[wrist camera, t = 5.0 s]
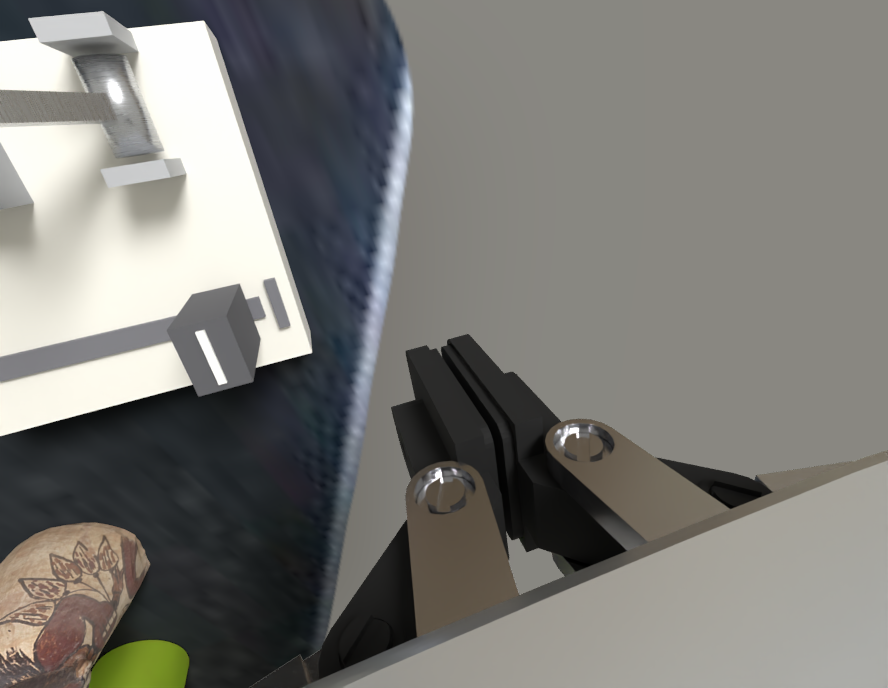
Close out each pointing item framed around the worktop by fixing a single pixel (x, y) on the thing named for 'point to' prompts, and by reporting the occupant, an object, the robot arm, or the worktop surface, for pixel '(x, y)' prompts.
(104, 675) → the soap dispenser
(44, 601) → the figurine
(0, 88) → the panel
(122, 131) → the toggle lever
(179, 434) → the worktop surface
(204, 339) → the slider knob
